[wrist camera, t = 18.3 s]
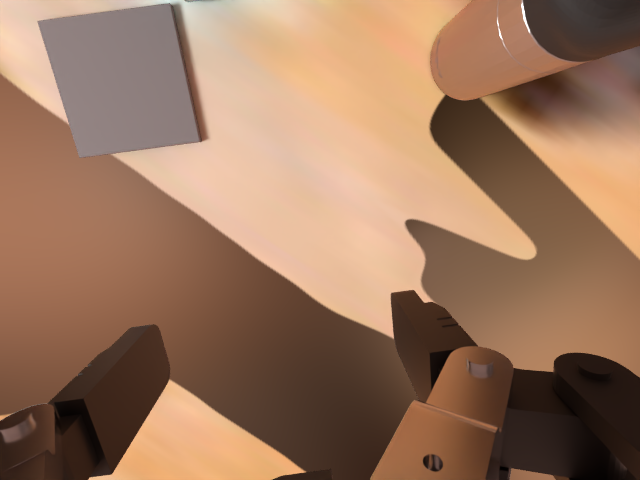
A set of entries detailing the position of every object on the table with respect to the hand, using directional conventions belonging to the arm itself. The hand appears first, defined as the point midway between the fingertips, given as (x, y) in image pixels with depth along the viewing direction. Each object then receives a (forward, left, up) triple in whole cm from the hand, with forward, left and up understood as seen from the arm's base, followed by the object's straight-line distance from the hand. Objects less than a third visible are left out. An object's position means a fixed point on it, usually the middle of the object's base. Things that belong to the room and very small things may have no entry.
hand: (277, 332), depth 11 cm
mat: (+18, -16, -32) cm, 40 cm away
